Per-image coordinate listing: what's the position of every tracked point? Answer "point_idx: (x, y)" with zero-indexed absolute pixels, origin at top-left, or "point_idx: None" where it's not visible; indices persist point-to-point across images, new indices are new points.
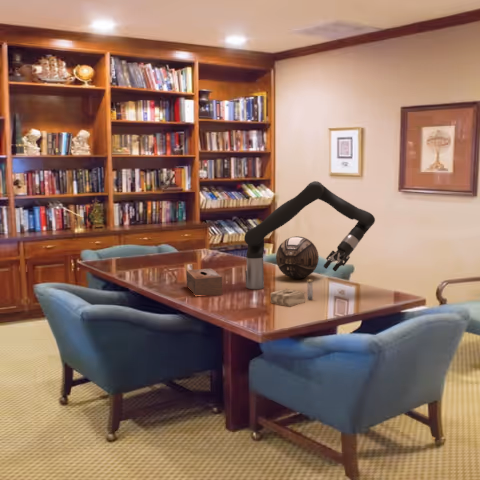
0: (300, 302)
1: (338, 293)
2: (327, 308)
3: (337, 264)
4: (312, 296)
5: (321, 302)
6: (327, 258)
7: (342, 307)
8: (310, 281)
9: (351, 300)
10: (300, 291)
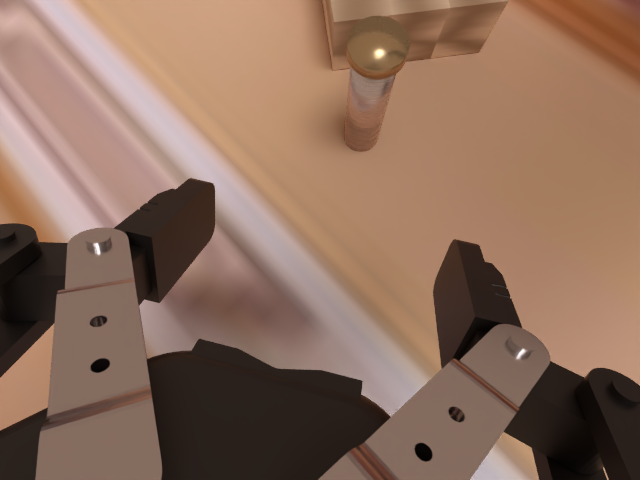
0: (327, 30)
1: None
2: (131, 61)
3: (130, 236)
4: (346, 132)
5: (252, 131)
6: (589, 385)
7: (78, 135)
8: (351, 33)
9: (142, 309)
10: (370, 15)
